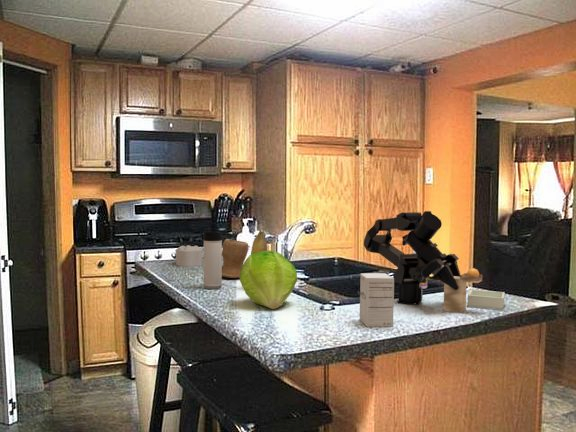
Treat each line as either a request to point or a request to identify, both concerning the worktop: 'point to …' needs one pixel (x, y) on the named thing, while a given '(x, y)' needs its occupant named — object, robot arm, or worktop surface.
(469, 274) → the ball
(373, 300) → the supplement box
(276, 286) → the lettuce
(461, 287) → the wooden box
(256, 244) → the vegetable
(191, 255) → the lumpy-topped squat cylinder
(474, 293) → the tray
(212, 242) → the travel mug
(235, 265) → the stone cup
